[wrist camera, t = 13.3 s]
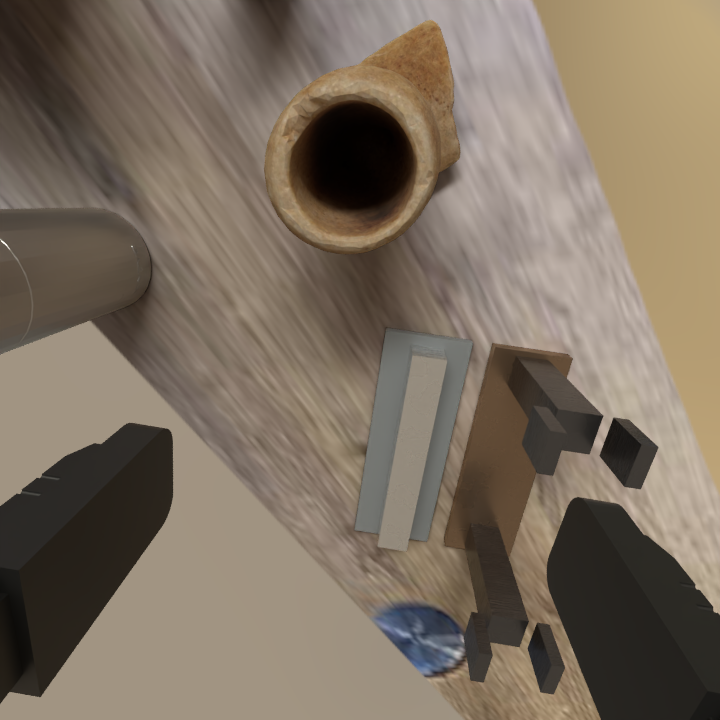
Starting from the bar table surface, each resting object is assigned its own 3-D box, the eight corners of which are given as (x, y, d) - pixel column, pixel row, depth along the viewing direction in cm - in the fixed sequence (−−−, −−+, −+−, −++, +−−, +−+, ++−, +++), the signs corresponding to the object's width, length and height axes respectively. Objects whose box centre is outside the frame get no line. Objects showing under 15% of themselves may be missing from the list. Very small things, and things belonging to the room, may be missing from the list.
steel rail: (378, 526, 47) (377, 546, 45) (411, 344, 40) (412, 355, 37) (405, 530, 47) (406, 551, 44) (443, 349, 40) (447, 360, 37)
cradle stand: (444, 537, 48) (465, 683, 34) (492, 343, 41) (547, 422, 26) (506, 548, 48) (555, 699, 34) (567, 354, 40) (666, 440, 26)
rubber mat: (355, 523, 49) (354, 530, 48) (386, 327, 41) (385, 330, 40) (426, 535, 48) (426, 541, 48) (471, 340, 41) (472, 343, 40)
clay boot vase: (330, 261, 39) (294, 294, 25) (262, 131, 36) (177, 84, 22) (490, 177, 36) (552, 160, 22) (431, 25, 33) (457, -110, 19)
